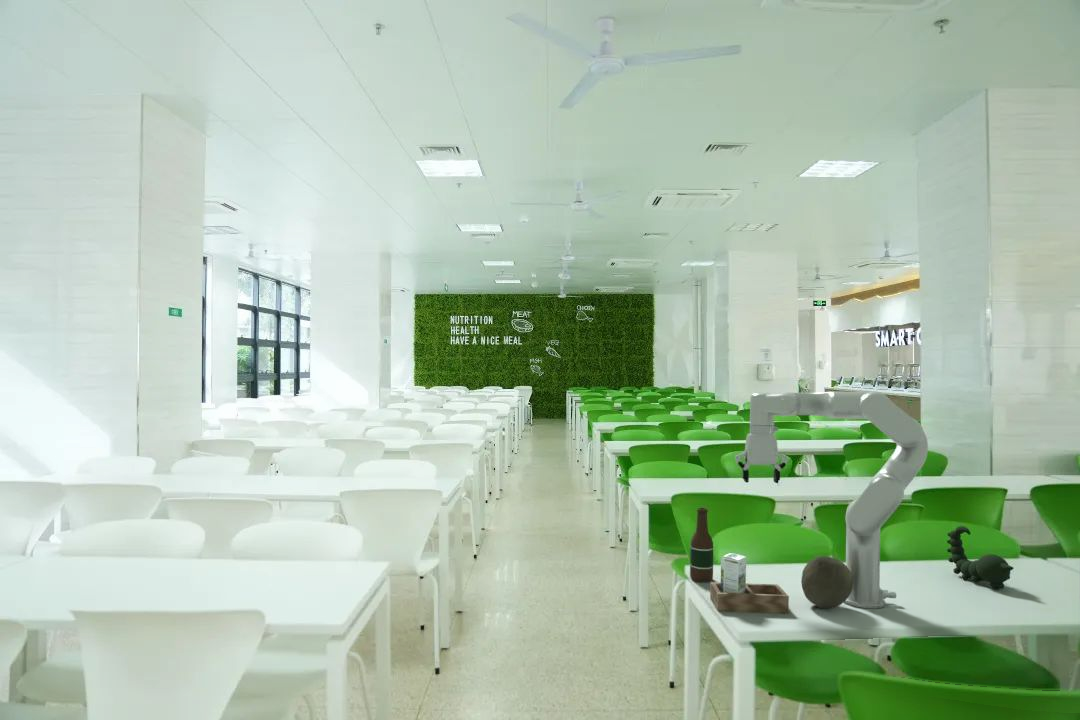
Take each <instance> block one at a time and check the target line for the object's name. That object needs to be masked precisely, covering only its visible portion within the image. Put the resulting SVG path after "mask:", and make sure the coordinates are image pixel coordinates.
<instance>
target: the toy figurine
mask: <svg viewBox="0 0 1080 720" xmlns="http://www.w3.org/2000/svg"><path fill="white" fill-rule="evenodd" d="M964 533H967V534H968V535H969V536H970V535H971V531H970V529H969V528H968V527H967V526H964V525H960V526H957V527H955V530H951V531H950V532H947V534H946V535H947V536H948V537H950V538H949V539H948V540H946V543H947V544H948V545H950V548H947V549H946V551H947V553H949V554H950V553H951V557H948V559H947V560H948V562H949V563H954V564H955V568H954V569H953V573H954V574H955V575H960V573H961V579H962V580H963V581H968V580H970V581H971V582H972V583H974V584H979V583H980V582H986V583H988V584H989V587H990V588H991V589H993V590H995V591H997V590H998V591H1000V590H1002V589H1004V587H1005V584H1004V583H1005V582H1006V581H1008V580H1010V579H1011V571H1013V570H1014V566H1011V565H1010V564H1009V563H1008V562H1007V560H1006V559H1004V558H1003V557H1001V556H1000V555H997V554H993V553H989V554H984V555H982V556H980V557H979V558H978V559H977V560H969V559H968V557H967V555H966V553H965V549H964V547H963V540H962V538H961V537H962V536H961V535H962V534H964Z"/></svg>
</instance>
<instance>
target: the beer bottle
mask: <svg viewBox="0 0 1080 720" xmlns="http://www.w3.org/2000/svg"><path fill="white" fill-rule="evenodd" d="M696 512H697V516H696V528H695V532H693V534H692V535H691V538H690V545H689V546H690V547H689V550H690V551H689V577H690V579H691V580H692V581H694V582H698V583H710V582H713V580H714V579H713V578H714V542H713V538H712V536H711V535H710V533H709V529H708V512H709V511H708V508H707V507H698V508H696Z"/></svg>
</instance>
